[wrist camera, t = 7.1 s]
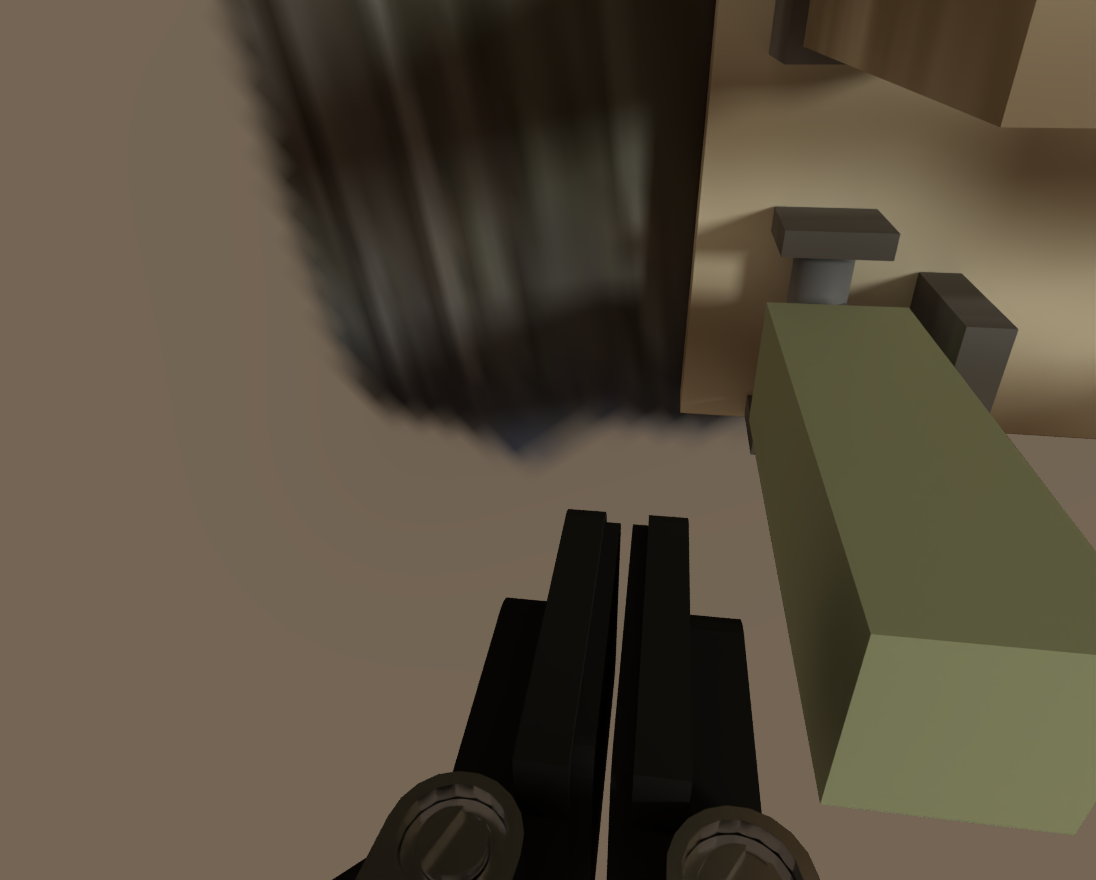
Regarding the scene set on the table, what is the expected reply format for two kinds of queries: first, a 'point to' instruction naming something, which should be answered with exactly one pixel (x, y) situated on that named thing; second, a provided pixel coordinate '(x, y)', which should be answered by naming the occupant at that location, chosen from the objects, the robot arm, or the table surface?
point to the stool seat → (906, 190)
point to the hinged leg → (920, 574)
